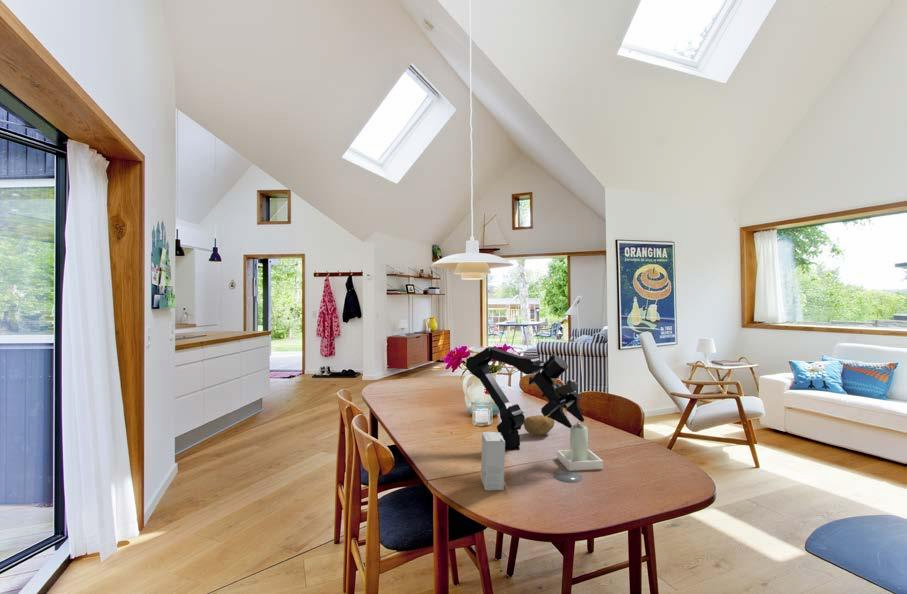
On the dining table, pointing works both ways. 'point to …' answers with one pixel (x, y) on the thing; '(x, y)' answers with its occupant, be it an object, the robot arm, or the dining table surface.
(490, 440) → the skincare box
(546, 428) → the potato
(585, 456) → the pebble cup
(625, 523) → the dining table surface
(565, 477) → the slate coaster
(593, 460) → the stoneware dish
